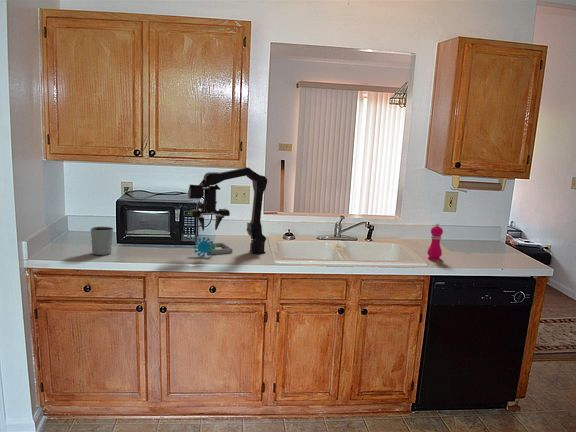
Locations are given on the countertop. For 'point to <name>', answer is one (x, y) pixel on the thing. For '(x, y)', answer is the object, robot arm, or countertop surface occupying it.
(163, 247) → the countertop surface
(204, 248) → the gear
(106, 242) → the grey cup
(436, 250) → the pepper mill
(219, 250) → the tray
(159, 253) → the countertop surface
